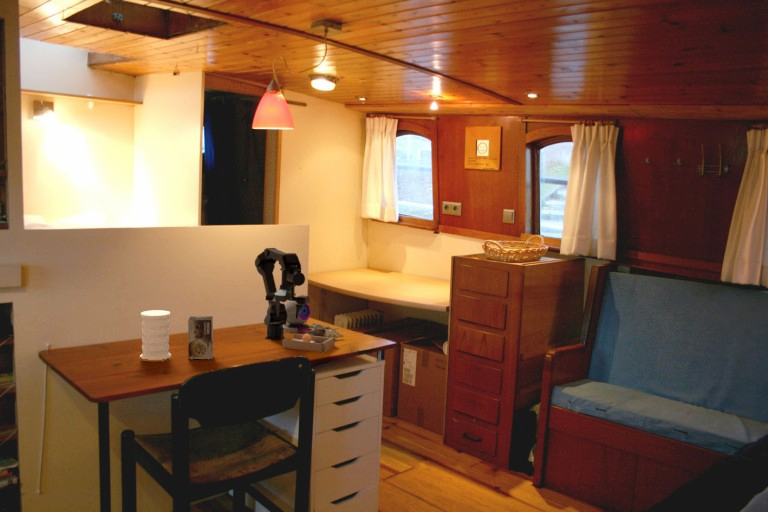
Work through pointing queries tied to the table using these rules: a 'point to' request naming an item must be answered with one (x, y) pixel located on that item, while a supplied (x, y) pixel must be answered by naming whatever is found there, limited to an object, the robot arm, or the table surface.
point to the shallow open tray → (309, 343)
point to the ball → (306, 338)
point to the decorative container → (155, 335)
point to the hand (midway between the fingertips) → (287, 317)
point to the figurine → (323, 331)
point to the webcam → (294, 323)
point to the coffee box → (200, 337)
